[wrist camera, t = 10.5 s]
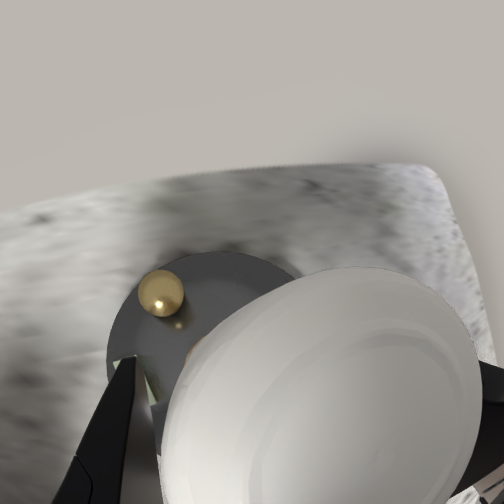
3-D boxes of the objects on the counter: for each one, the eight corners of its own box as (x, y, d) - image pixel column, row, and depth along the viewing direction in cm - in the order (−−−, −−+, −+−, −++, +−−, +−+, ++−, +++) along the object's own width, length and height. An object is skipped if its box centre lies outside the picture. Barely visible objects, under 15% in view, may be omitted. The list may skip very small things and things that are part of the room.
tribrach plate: (353, 409, 16) (368, 414, 15) (168, 491, 13) (166, 505, 11) (279, 230, 19) (288, 219, 17) (82, 296, 15) (72, 290, 13)
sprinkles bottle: (169, 351, 14) (64, 372, 2) (245, 316, 16) (426, 203, 3) (208, 425, 14) (282, 623, 1) (282, 388, 15) (507, 446, 3)
